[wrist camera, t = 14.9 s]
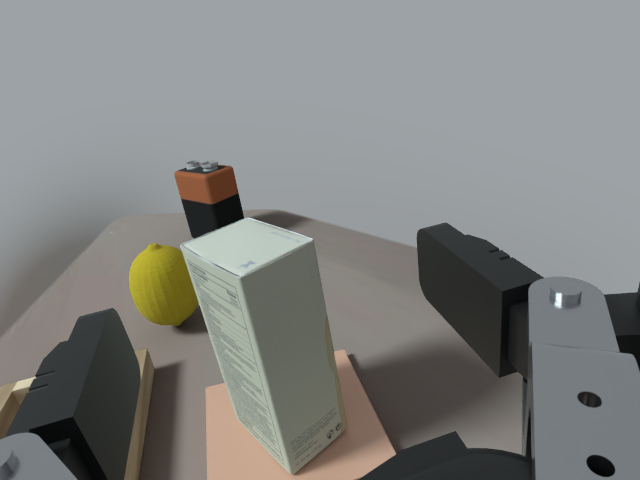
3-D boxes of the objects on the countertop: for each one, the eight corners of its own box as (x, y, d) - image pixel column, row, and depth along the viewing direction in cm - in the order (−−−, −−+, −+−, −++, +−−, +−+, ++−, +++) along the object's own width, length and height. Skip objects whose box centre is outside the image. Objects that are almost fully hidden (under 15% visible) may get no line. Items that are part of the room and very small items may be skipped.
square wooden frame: (154, 368, 33) (146, 348, 33) (135, 497, 23) (123, 472, 23) (14, 406, 32) (2, 385, 31) (-70, 562, 22) (-91, 538, 21)
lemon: (175, 304, 42) (151, 228, 39) (221, 311, 40) (200, 232, 36) (132, 339, 37) (100, 257, 34) (181, 349, 35) (152, 263, 32)
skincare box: (350, 429, 25) (322, 239, 20) (289, 481, 22) (240, 279, 17) (285, 378, 29) (249, 213, 24) (229, 417, 27) (176, 242, 22)
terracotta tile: (344, 355, 32) (343, 349, 31) (401, 471, 23) (401, 463, 23) (207, 394, 30) (205, 387, 30) (211, 536, 21) (208, 528, 21)
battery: (223, 248, 53) (203, 168, 49) (190, 239, 57) (169, 165, 53) (249, 234, 56) (232, 158, 52) (216, 226, 60) (198, 155, 56)
